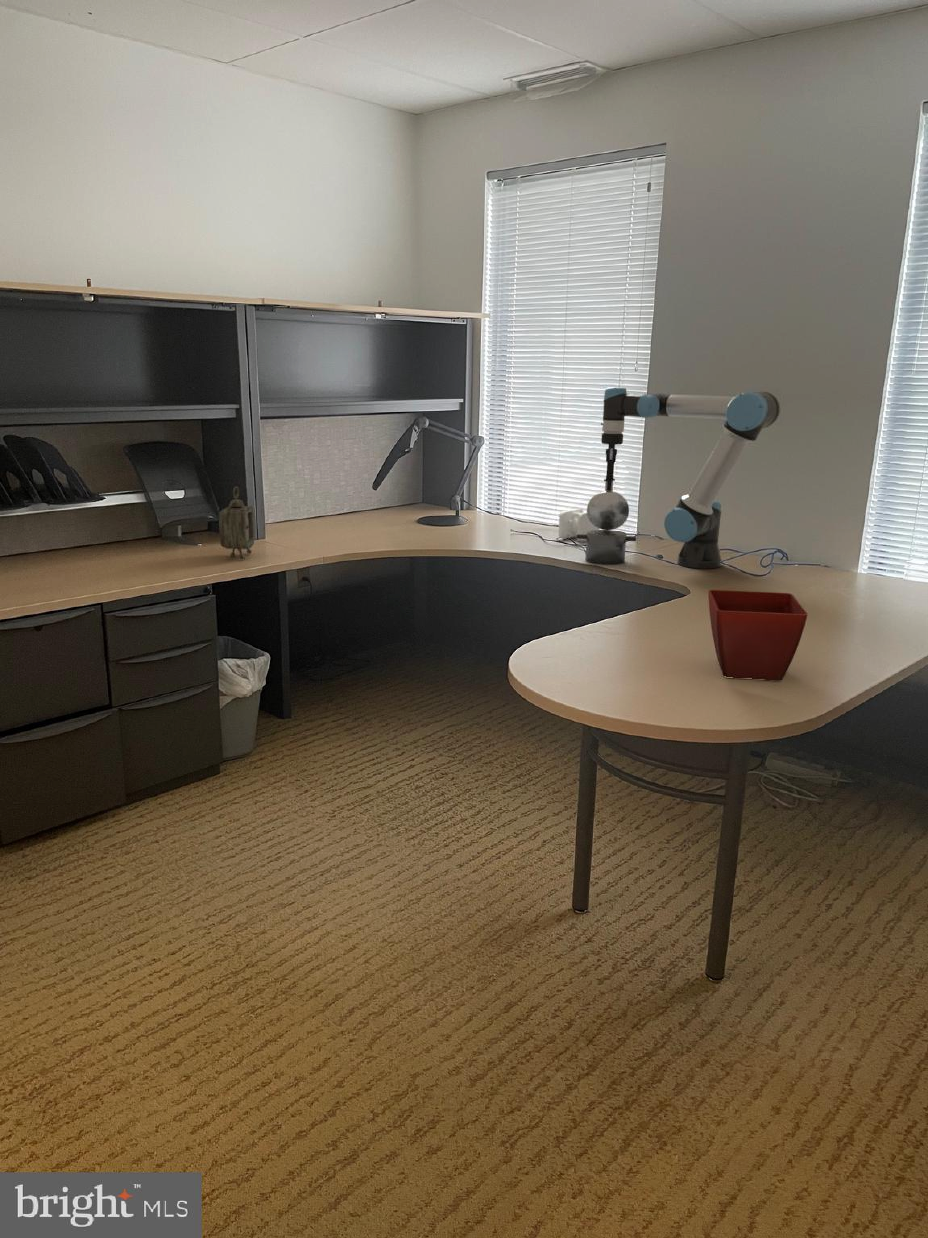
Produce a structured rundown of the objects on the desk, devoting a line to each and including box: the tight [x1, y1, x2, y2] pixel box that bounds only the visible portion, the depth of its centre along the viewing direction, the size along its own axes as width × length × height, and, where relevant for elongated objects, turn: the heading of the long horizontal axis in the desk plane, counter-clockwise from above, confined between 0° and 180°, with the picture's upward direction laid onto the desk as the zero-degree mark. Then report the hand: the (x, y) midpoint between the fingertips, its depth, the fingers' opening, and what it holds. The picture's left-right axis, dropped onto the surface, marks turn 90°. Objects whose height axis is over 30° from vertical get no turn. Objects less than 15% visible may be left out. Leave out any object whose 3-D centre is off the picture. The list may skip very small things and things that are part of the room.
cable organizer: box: [558, 508, 600, 543], centre depth 363 cm, size 15×11×12 cm
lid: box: [586, 490, 630, 531], centre depth 325 cm, size 15×15×3 cm
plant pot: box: [708, 589, 809, 682], centre depth 205 cm, size 19×19×17 cm
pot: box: [576, 529, 637, 566], centre depth 323 cm, size 19×14×10 cm
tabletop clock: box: [218, 486, 255, 560], centre depth 316 cm, size 14×9×25 cm, turn 0°
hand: (608, 499), depth 323 cm, fingers closed
